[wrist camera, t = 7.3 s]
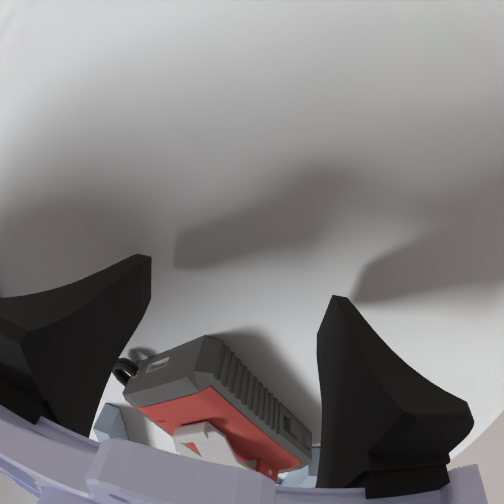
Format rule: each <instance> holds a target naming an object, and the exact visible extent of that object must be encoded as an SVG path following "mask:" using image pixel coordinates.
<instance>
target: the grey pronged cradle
mask: <svg viewBox="0 0 504 504" xmlns="http://www.w3.org/2000/svg"><path fill="white" fill-rule="evenodd" d="M93 429H94V432H95V434H96V436H97V438H98V440H99V443H101V442H102V441H103V440H108V439H116V438H120V439H124V440H128V436H127V433H126V429H125V426H124V422H123V419H122V415H121V411H120V408H117V407H114V406H112V405H109V404H106V403H105V405H104V407H103V409H102V411H101V413H100V415H99V417H98V419H97V421H96V423H95V425H94V428H93ZM128 441H129V440H128ZM319 457H320V448H312V461H311V463H310V464H309V465H307V466H305V467H304V468H302V469H299V470H295V471H290V472H289V473H288V475H287V476H286V477H285V479H284V480H283V481H282V482H281V484H280V485H279V486H286V487H301V488H313V487H314V486H315V485H316V481H317V474H318V466H319Z"/></svg>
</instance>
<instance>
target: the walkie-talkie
mask: <svg viewBox="0 0 504 504" xmlns="http://www.w3.org/2000/svg"><path fill="white" fill-rule="evenodd" d="M222 342H223V341H222V340H220V339H216V338H212V337H208V336H205V335H204V336H202V337H199V338H197V339H194V340H192V341H190V342H187V343H185V344H182V345H180V346H177V347H175V348H173V349H170V350H168V351H165V352H163V353H160V354H158V355H155V356H153V357H150V358H147V359H145V360H142V361H140V362H137V364H135V363H134V362H132V361H130V360H129V359H126V358H118V360H117V362H116V363H115V365H114V368H113V370H112V373H113V374H114V376H115V377H116V379H117V380H118V381H119V382H120V383H122V384H123V385H124V386H125V389H124V391H123V396H124V398H125V400H126V401H128V402H129V403H130V404H131V405H132V406H133V407H135V408H136V409H137V410H138V411H139V412H141V413H142V414H143V415H144V416H145V417H147V418H148V419H150V420H151V421H152V422H153V423H155V424H156V425H157V426H158V427H160V428H161V429H163V430H164V431H165V432H167V433H168V434H169V435H170V436H172V437H173V441H174V445H175V448H176V451H177V452H178V453H180V454H181V455H183V456H186V457H190V458H195V459H199V460H203V461H208V462H213V463H218V464H223V465H229V466H235V467H240V468H244V469H248V470H252V471H256V472H260V473H262V474H263V475H265V476H267V477H269V478H270V479H272V480H273V481H274V482H275V481H276V479H277V476H278V474H279V473H285V472H290V471H295V470H299V469H302V468H304V467H305V466H307V465H309V464H310V463H311V461H312V438H311V432H310V431H309V430H308V429H307V428H306V427H304V426H303V425H302V424H301V423H300V422H299V421H298V420H297V419H296V418H295V417H294V416H293V415H292V414H291V413H290V412H289V411H288V410H287V409H286V408H285V407H284V406H283V405H282V404H281V403H278V402H277V399H276V398H273V395H272V393H269V392H268V389H267V388H264V387H263V384H262V383H259V382H258V379H257V378H254V377H253V376H252V372H249V371H248V370H247V367H246V366H243V365H242V364H241V361H240V359H239V360H237V358H236V357H235V354H234V353H231V352H230V351H229V347H228V346H225V345H224V344H223V343H222ZM125 371H126V372H128V373H129V374H130V375H131V376H129V375H128V374H127V373H126V372H125Z"/></svg>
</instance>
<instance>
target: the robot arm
mask: <svg viewBox="0 0 504 504" xmlns="http://www.w3.org/2000/svg"><path fill="white" fill-rule="evenodd" d="M151 258H152V257H150V256H145V255H141V254H136V255H133V256H131V257H129V258H127V259H125V260H123V261H120V262H118V263H116V264H114V265H112V266H110V267H108V268H106V269H104V270H102V271H100V272H98V273H95V274H93V275H91V276H88V277H86V278H84V279H82V280H79V281H77V282H74V283H71V284H68V285H65V286H62V287H59V288H56V289H52V290H48V291H44V292H40V293H36V294H30V295H25V296H17V297H9V298H0V472H1V473H2V474H4V475H5V476H6V477H8V478H9V479H11V480H12V481H13V482H15V483H16V484H18V485H19V486H21V487H22V488H24V489H25V490H27V491H28V492H30V493H32V494H33V495H35V496H36V497H38V498H39V500H38V502H37V504H488V503H487V498H486V495H485V491H484V487H483V483H482V479H481V476H480V472H479V469H478V465H477V464H473V465H468V466H463V467H458V468H455V469H452V470H450V471H448V472H447V468H446V464H448V463H450V457H449V452H450V451H452V450H453V449H454V448H455V447H456V446H457V445H458V444H459V443H461V442H462V441H463V440H464V439H465V438H466V437H467V436H468V434H469V433H470V432H471V430H472V428H473V426H474V419H473V416H472V414H471V411H470V409H469V406H468V404H467V402H466V401H464V400H462V399H460V398H458V397H456V396H454V395H452V394H450V393H448V392H446V391H445V390H443V389H441V388H440V387H438V386H436V385H435V384H433V383H432V382H430V381H429V380H427V379H426V378H424V377H423V376H422V375H420V374H419V373H418V372H416V371H415V370H414V369H413V368H411V367H410V366H409V365H408V364H407V363H405V362H404V361H403V360H402V359H401V358H400V357H399V356H398V355H397V354H396V353H394V352H393V351H392V350H391V349H390V348H389V346H388V345H387V344H386V343H385V342H384V341H383V340H382V339H381V338H380V337H379V336H378V334H377V333H376V332H375V331H374V330H373V329H372V327H371V326H370V325H369V324H368V322H367V321H366V320H365V319H364V318H363V316H362V315H361V314H360V312H359V311H358V310H357V309H356V307H355V306H354V305H353V304H352V303H351V301H350V300H349V299H348V298H347V297H341V296H336V295H332V297H331V300H330V303H329V305H328V308H327V310H326V313H325V316H324V318H323V321H322V323H321V326H320V328H319V330H318V333H317V364H318V373H319V381H320V390H321V400H322V430H321V446H320V457H319V466H318V474H317V481H316V487H315V488H301V487H286V486H276V484H275V482H274V481H273V480H272V479H270V478H269V477H267V476H265V475H263V474H262V473H260V472H256V471H252V470H248V469H244V468H240V467H235V466H229V465H223V464H218V463H213V462H208V461H203V460H199V459H195V458H190V457H186V456H182V455H178V454H174V453H171V452H167V451H163V450H160V449H156V448H153V447H150V446H147V445H143V444H140V443H137V442H133V441H128V440H124V439H120V438H116V439H108V440H103V441H102V442H101V443H99V442H96V441H94V440H91V439H89V435H90V431H91V428H92V424H93V421H94V418H95V415H96V412H97V409H98V406H99V403H100V400H101V397H102V395H103V392H104V389H105V387H106V384H107V382H108V379H109V377H110V375H111V372H112V370H113V368H114V365H115V363H116V362H117V360H118V358H119V356H120V354H121V353H122V351H123V349H124V348H125V346H126V344H127V343H128V341H129V340H130V338H131V336H132V335H133V333H134V331H135V330H136V328H137V326H138V325H139V323H140V321H141V320H142V318H143V316H144V314H145V311H146V309H147V307H148V304H149V302H150V300H151Z"/></svg>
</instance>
